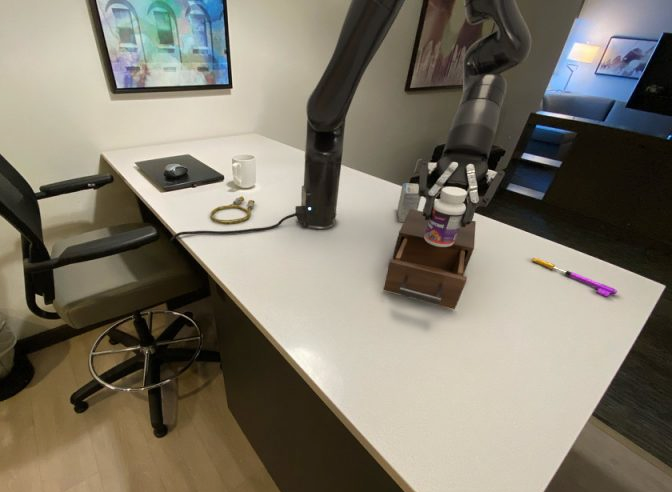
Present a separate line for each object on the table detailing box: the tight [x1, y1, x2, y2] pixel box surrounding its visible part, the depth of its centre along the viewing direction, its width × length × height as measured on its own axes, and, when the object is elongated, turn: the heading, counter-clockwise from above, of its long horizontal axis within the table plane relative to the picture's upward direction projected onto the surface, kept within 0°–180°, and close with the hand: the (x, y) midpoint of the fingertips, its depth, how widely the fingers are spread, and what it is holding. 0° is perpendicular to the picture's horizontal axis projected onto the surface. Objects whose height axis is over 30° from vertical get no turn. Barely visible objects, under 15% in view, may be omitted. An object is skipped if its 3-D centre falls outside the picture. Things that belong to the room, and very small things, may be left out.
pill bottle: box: [424, 187, 467, 247], centre depth 59 cm, size 5×5×10 cm
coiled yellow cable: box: [210, 196, 256, 225], centre depth 96 cm, size 12×16×2 cm
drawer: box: [382, 237, 468, 310], centre depth 64 cm, size 18×13×7 cm
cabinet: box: [392, 209, 477, 276], centre depth 74 cm, size 14×15×9 cm
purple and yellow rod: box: [531, 257, 618, 298], centre depth 71 cm, size 3×1×16 cm
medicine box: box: [396, 182, 422, 223], centre depth 93 cm, size 8×4×9 cm, turn 168°
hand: (445, 221), depth 58 cm, fingers closed on pill bottle, 5 cm apart
